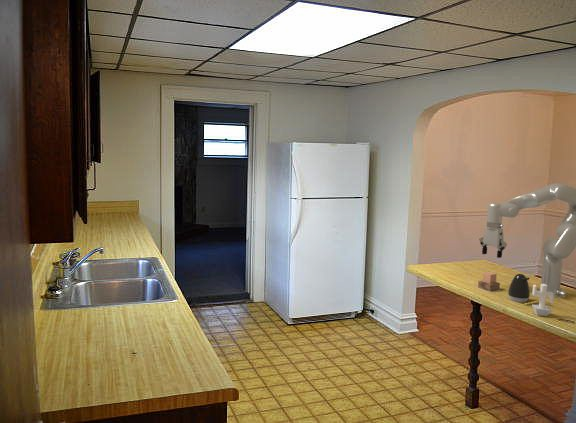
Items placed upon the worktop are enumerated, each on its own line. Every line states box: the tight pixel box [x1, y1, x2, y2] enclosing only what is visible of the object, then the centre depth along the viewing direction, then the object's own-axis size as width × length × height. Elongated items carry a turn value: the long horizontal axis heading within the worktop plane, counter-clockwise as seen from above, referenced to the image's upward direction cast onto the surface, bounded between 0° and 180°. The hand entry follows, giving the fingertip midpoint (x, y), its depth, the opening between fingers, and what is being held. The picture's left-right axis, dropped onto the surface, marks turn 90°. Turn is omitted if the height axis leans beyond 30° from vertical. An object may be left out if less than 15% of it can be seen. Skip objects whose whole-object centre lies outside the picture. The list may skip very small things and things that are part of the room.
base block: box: [477, 279, 501, 293], centre depth 281 cm, size 8×8×4 cm
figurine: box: [531, 283, 555, 317], centre depth 242 cm, size 7×9×15 cm
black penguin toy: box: [507, 273, 531, 304], centre depth 261 cm, size 10×10×15 cm
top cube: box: [482, 271, 498, 284], centre depth 281 cm, size 5×5×5 cm
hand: (491, 255), depth 279 cm, fingers open, 9 cm apart
